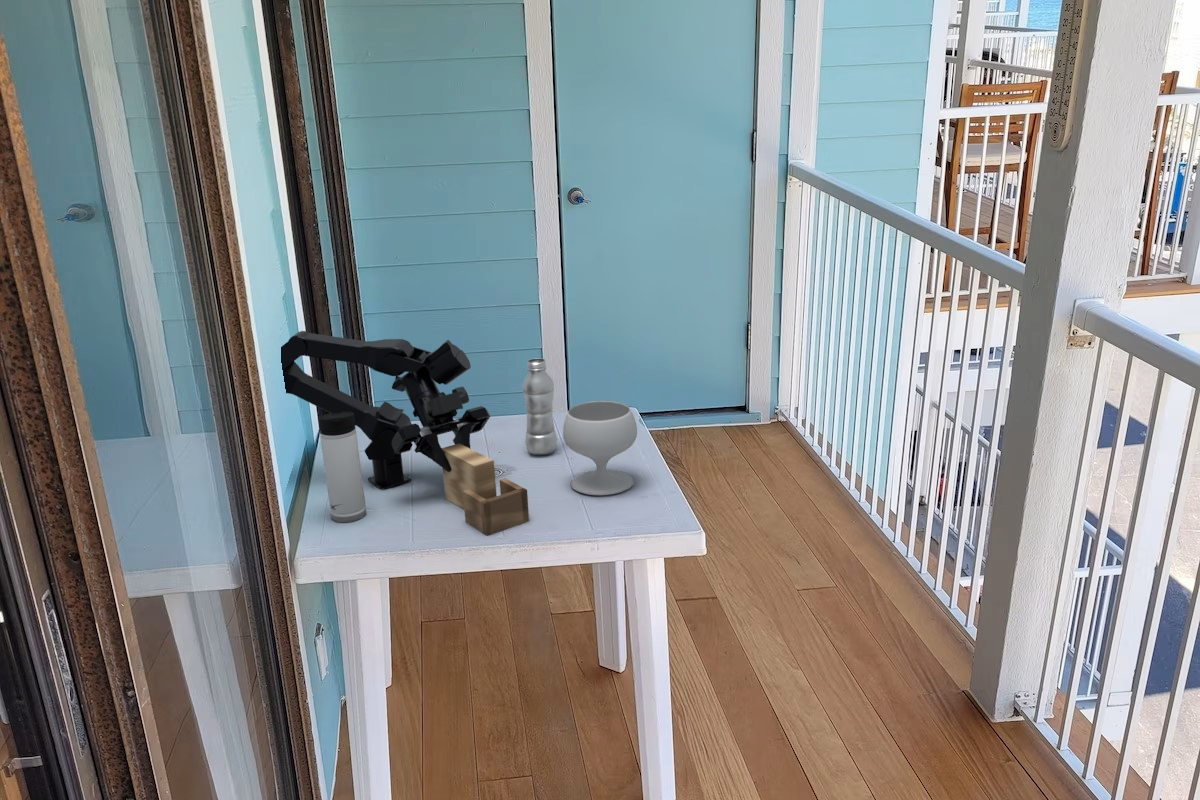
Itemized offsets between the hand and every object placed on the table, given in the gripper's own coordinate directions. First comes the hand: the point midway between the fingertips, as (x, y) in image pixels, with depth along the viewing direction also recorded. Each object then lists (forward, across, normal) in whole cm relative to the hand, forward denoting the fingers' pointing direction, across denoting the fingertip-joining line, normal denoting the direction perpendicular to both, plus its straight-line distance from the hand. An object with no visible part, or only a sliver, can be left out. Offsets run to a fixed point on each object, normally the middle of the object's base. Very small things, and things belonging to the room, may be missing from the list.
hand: (460, 467), depth 185 cm
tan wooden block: (+7, 0, +3) cm, 7 cm away
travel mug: (-1, -19, +11) cm, 22 cm away
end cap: (+13, 0, -4) cm, 14 cm away
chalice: (+13, +24, -4) cm, 27 cm away
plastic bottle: (-2, +25, +12) cm, 28 cm away
